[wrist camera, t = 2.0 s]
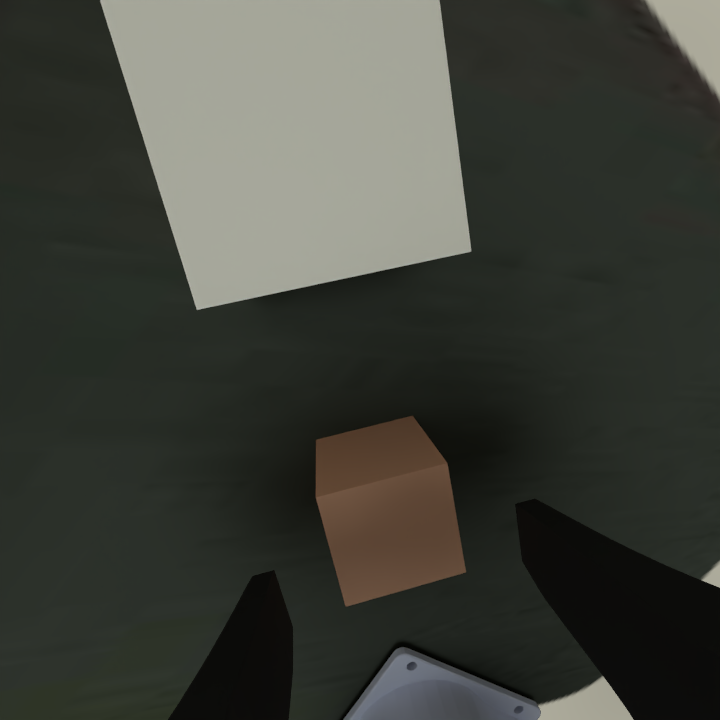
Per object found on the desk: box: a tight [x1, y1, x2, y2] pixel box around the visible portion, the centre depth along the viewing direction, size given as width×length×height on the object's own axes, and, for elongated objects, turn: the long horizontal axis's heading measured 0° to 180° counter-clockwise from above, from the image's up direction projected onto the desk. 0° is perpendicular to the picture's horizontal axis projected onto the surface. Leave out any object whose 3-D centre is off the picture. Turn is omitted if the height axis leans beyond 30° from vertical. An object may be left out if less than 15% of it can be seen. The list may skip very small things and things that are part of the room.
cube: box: [316, 416, 466, 607], centre depth 13 cm, size 4×4×4 cm
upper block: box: [100, 0, 471, 310], centre depth 8 cm, size 6×6×3 cm
